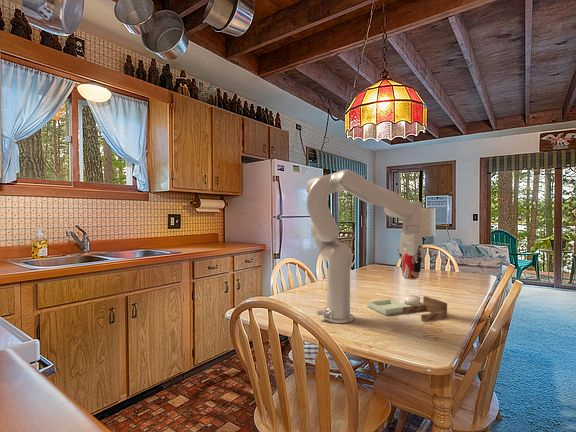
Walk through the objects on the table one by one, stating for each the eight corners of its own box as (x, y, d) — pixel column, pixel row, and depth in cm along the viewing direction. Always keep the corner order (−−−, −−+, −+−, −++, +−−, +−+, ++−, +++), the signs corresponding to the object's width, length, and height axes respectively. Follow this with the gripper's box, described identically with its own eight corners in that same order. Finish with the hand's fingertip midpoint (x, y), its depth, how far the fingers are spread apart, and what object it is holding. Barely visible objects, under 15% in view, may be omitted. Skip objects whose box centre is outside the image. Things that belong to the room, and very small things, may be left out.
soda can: (408, 280, 139) (409, 252, 139) (398, 277, 146) (399, 250, 146) (422, 280, 141) (423, 252, 141) (412, 276, 148) (413, 250, 148)
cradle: (422, 321, 134) (423, 306, 134) (402, 312, 145) (402, 299, 145) (447, 317, 139) (447, 303, 139) (425, 309, 150) (425, 296, 150)
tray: (385, 315, 141) (385, 309, 141) (367, 307, 153) (367, 301, 153) (409, 312, 146) (409, 306, 146) (389, 304, 158) (389, 298, 158)
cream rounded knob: (411, 307, 154) (411, 299, 154) (401, 302, 160) (401, 295, 160) (423, 305, 157) (423, 298, 157) (412, 301, 163) (412, 294, 163)
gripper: (391, 228, 150) (390, 267, 150) (419, 230, 134) (418, 274, 134) (405, 228, 153) (403, 266, 153) (433, 230, 137) (432, 273, 137)
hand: (410, 269), depth 144 cm, fingers closed on soda can, 7 cm apart
